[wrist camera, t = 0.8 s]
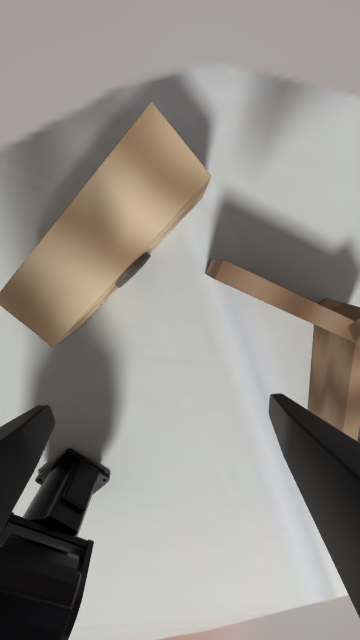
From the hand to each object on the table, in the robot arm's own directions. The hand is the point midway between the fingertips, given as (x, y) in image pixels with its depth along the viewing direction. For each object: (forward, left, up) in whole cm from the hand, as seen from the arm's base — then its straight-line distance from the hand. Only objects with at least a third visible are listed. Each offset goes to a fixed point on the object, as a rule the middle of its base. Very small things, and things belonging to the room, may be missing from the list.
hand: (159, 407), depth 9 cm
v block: (+7, -10, -13) cm, 18 cm away
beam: (+1, +8, -13) cm, 15 cm away
